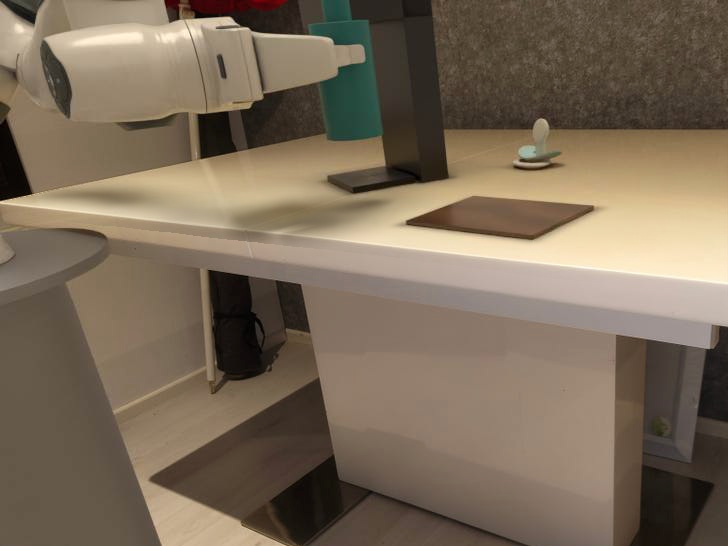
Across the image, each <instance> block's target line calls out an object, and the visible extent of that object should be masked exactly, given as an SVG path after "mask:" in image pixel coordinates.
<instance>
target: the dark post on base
mask: <svg viewBox="0 0 728 546" xmlns="http://www.w3.org/2000/svg"><path fill="white" fill-rule="evenodd" d="M297 1H298V7H299V13H300V18H301V24H302V29H303V30H309V28H308V25H309V24H318V23H325V22H324V16H323V10H322V3H321V0H297ZM349 1H350V8H351V16H352V21H355V20H369V26H370V33H371V41H372V49H373V56H374V64H375V72H376V79H377V87H378V95H379V103H380V110H381V118H382V126H383V135H381V142H382V149H383V155H384V162H385V165H383V166H377V167H376V166H375V167H371V168H364V169H357V170H351V171H346V172H341V173H339V172H338V173H335V174H327V175H326V177H327V181H328V182H329V183H331V184H333V185H336V186H337V187H340V188H342V189H343V190H346V191H348V192H350V193H352V194H358V193H363V192H369V191H375V190H380V189H381V190H382V189H385V188H390V187H396V186H403V185H408V184H413V183H417V182H419V183H427V182H434V181H438V180H439V181H440V180H444V179H449V169H448V160H447V159H448V158H447V157H448V156H447V149H446V138H445V129H444V128H445V126H444V118H443V108H442V97H441V88H440V86H441V85H440V76H439V67H438V57H437V46H436V36H435V27H434V16H433V6H432V0H349Z"/></svg>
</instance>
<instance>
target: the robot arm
mask: <svg viewBox="0 0 728 546" xmlns="http://www.w3.org/2000/svg"><path fill="white" fill-rule="evenodd" d="M165 3H166V2H165V0H0V125H1V124H2V123H3V122H4V121H5V119H6V118H7V116H8V115H9V113H10V111H12V110H11V109H12V108H11V107H10V105H11V103H12V101H13V100H14V97H15V96H16V94H17V91H18V89H19V87H20V88H21V89H22V91H23V92H24V94H25V95H26V96H27V97H28V98H29V99H30V100H31V101H32V102H33V103H34V104H36V105H37V106H39V107H40V108H42V109H44V110H45V111H47V112H49V113H51V114H54V115H57V116H59V117H64V118H67V120H69V121H71V122H78V123H79V122H80V123H114V124H116V126H118V127H120V128H122V129H123V130H124V131H126V132H134V131H139V130H147V129H155V128H156V129H157V128H163V127H173V126H174V125H175V124H176V122H177V120H178V119H179V117H180V116H181V114H182V113H193V114H199V115H205V114H213V113H220V112H230V111H239V110H247V109H250V108H251V107H252V105H253V103H255V102H258V101H262V100H263V99H264V94H269V93H274V92H278V91H283V90H288V89H293V88H298V87H302V86H303V87H304V86H307V85H311V84H316V83H318V82H320V81H324V80H328V79H331V78H333V77H335V76H337V74H338V67H341V66H345V65H349V64H357V63H363V62H364V61H365V51H364V47H363V46H362V45H360V44H359V45H334V42H333V40H332V39H331V38H328V37H322V36H310V34H309V35H306V34H286V33H285V34H284V33H283V34H281V33H265V32H264V33H263V32H257V31H252V30H251V29H250V27H247V26H246V27H245V26H242V25H240V24H238V23H237V22H235V20H234V18H233V17H231V16H219V17H204V18H190V19H189V18H187V19H178V20H175V21H172V22H170V20H169V16H168V12H167V8H166V4H165ZM14 255H15V253H14V251H13V250H12V249H11V248H10V247H9V245H8V244H7V243H6V241H5V240H4V239H3V237H2V236H1V234H0V265H1V264H3V263H5V262H7V261H8V260H10V259H11V258H12V257H13V256H14Z"/></svg>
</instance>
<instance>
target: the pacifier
mask: <svg viewBox="0 0 728 546" xmlns="http://www.w3.org/2000/svg"><path fill="white" fill-rule="evenodd" d="M549 133H550V125H549V122H548V121H547V120H546V119H544V118H541V117H540V118H538V119H537V120H536V121H535V122H534V124H533V127H532V140H533V141H534V145H529V144H527V145H523V146H521V147H520V148H519V149H518V150H517V152H518V157H519V158H517V159H515V160H513V161H512V164H513V166H515V167H518V168H522V169H523V168H525V169H539V168H544V167H547V166H550V165H551V159H554V158H557V157H559V156H560V155H562V154H563V150H562V149H554V150H550V151H547V141H546V140H547V139H548V136H549Z"/></svg>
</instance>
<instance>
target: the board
mask: <svg viewBox="0 0 728 546" xmlns="http://www.w3.org/2000/svg"><path fill="white" fill-rule="evenodd" d="M594 209H595V206H594V205H592V204H578V203H568V202H567V203H566V202H553V201H543V200H540V201H539V200H529V199H520V198H519V199H518V198H506V197H495V196H493V197H492V196H481V195H480V196H479V195H472V196H469V197H467V198H464V199H461V200H458V201H456V202H453V203H450V204H447V205H445V206H441V207H438V208H436V209H434V210H431V211H429V212H426V213H423V214H420V215H417V216H414V217H412V218H410V219H406V220H405V224H406V225H408V226H409V225H410V226H417V227H426V228H435V229H442V230H451V231H460V232H467V233H475V234H484V235H491V236H492V235H493V236H502V237H509V238H517V239H527V240H535V239H536V238H539V237H540V236H543V235H544V234H546V233H549V232H551V231H553V230H555V229H556V228H559V227H561V226H562V225H563V226H564V225H565V224H567V223H569V222H571V221H573V220H575V219H577V218H579V217H581V216H583V215H585V214H587V213H589V212H591V211H593V210H594Z"/></svg>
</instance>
